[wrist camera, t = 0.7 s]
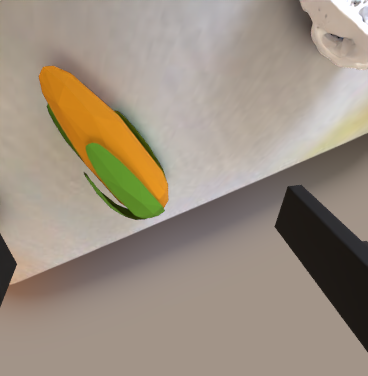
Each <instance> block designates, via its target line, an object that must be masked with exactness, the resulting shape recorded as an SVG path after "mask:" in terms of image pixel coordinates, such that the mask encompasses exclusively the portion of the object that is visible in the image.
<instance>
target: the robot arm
mask: <svg viewBox="0 0 368 376" xmlns="http://www.w3.org/2000/svg"><path fill="white" fill-rule="evenodd" d="M275 228H276V229H277V231H278V232H279V233H280V235H281V236H282V237H283V238H284V240H285V241H286V243H287V244H288V245H289V247H290V248H291V249H292V251H293V252H294V253H295V255H296V256H297V257H298V259H299V260H300V261H301V262H302V264H303V266H304V267H305V268H306V269H307V271H308V272H309V274H310V275H311V276H312V278H313V279H314V280H315V282H316V283H317V284H318V286H319V287H320V288H321V290H322V291H323V293H324V294H325V295H326V297H327V298H328V299H329V301H330V302H331V303H332V305H333V306H334V307H335V308H336V310H337V311H338V312H339V314H340V315H341V317H342V318H343V319H344V321H345V322H346V324H347V325H348V326H349V327H350V329H351V330H352V332H353V333H354V334H355V335H356V337H357V338H358V340H359V341H360V342H361V344H362V345H363V346H364V348H365V349H366V350H367V352H368V242H367V241H361V240H360V239H359V238H358V237H357V236H356V235H355V234H353V233H352V232H351V231H350V230H349V229H348V228H347V227H346V226H345V225H344V224H342V222H341V221H340V220H338V219H337V218H336V217H335V216H334V215H333V214H332V213H331V212H330V211H329V210H328V209H327V208H326V207H324V206H323V205H322V204H321V203H320V202H319V201H318V200H317V199H316V198H315V197H314V196H313V195H312V194H311V193H309V192H308V191H307V190H306V189H305V188H304V187H303V186H302V185H296V186H288V187H287V191H286V194H285V197H284V200H283V203H282V206H281V209H280V212H279V215H278V218H277V221H276V224H275ZM16 265H17V263H16V261H15V259H14V258H13V256H12V254H11V252H10V250H9V249H8V247H7V245H6V243H5V241H4V239H3V238H2V236H1V234H0V306H1V304H2V301H3V299H4V296H5V293H6V291H7V288H8V286H9V283H10V281H11V278H12V276H13V273H14V271H15V268H16Z"/></svg>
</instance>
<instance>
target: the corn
mask: <svg viewBox="0 0 368 376" xmlns="http://www.w3.org/2000/svg"><path fill="white" fill-rule="evenodd" d="M39 80H40V84H41V89H42V93H43V95H44V97H45V99H46V100H47V102H48V105H47V108H48V112H49V114H50V116H51V118H52V120H53V122H54V123H55V125H56V127H57V128H58V130H59V131H60V133H61V135H62V136H63V138H64V139H65V141H66V142H67V143H68V144H69V145H70V146H71V148H72V149H73V150H74V151H75V152H76V154H77V155H78V156H79V157H80V158H81V160H82V161H83V162H84V163H85V164H86V166H87V167H88V168H89V169H90V170H91V171H92V172H93V173H94V174H95V176H96V177H97V178H98V179H99V180H100V181H101V182H102V183H103V184H104V186H105V187H106V188H107V189H108V190H109V191H110V192H111V193H112V194H113V195H114V197H115V198H116V199H117V200H118V201H119V202H120V203H121V204H123V205H124V206H126V207H127V208H128V209H127V208H124V207H122V206H119V205H117V204H116V203H114V202H113V201H112V200H111V199H109V198H108V197H107V196H105V195H104V194H103V193H102V192H101V191H100V190H99V189H98V188H97V187H96V186H95V184H94V183H93V182H92V181H91V180H90V178H89V177H88V175H87V174H86V173H84V175H85V177H86V178H87V180H88V181H89V182H90V184H91V185H92V187H93V188H94V190H95V191H96V193H97V194H98V195H99V196H100V197H101V198H102V199H103V200H104V202H105V203H106V204H107V205H108V206H109V207H110V208H112V209H113V210H115V211H116V212H118V213H120V214H122V215H124V216H126V217H128V218H131V219H135V220H141V219H147V218H152V217H155V216H158V215H160V214H161V213H163V212H164V211H165V210H164V207H165V205H166V203H167V202H168V183H167V180H166V177H165V174H164V171H163V168H162V167H161V165H160V163H159V162H158V160H157V158H156V157H155V155H154V154H153V152H152V150H151V149H150V147H149V145H148V144H147V143H146V142H145V140H144V139H143V138H142V136H141V135H140V134H139V133H138V131H137V130H136V129H135V127H134V126H133V125H132V124H131V123H130V122H129V121H128V120H127V119H126V118H125V117H124V116H123V115H122V114H121V113H120V112H118V111H113V110H112V109H111V108H110V107H109V106H107V105H106V104H105V103H104V102H103V101H102V100H101V99H99V98H98V97H97V96H96V95H95V94H94V93H93V92H91V91H90V90H89V89H88V88H87V87H86V86H85V85H83V84H82V83H81V82H80V81H79V80H78V79H77V78H75V77H74V76H73V75H72V74H71V73H69V72H67V71H64V70H62V69H60V68H57V67H55V66H45V67H43V68H42V70H41V73H40V75H39Z"/></svg>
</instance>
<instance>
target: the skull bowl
mask: <svg viewBox="0 0 368 376" xmlns="http://www.w3.org/2000/svg"><path fill="white" fill-rule="evenodd" d="M354 2H357V3H356V4H353V3H354ZM359 2H360V3H359ZM300 3H301V6H302V8H303V10H304V11H305V12H308V14H309V15H310V17H311V20H312V22H313V25H312V28H311V38H312V40H313V42H314V43H315V45H316V47H317V49H318V51H319V52H320V53H321V54H322V55H323V56H325V57H326V58H328V59H330V61H332V62H333V63H334V64H335V65H337V66H339V67H344V68H356V69H357V70H361V69H362V70H365V69H368V0H300ZM328 33H330V34H334V35H337V36H339V37H344V38H343V41H342V40H341V39H339V38H337V37H335V36H332V35H330V34H328Z"/></svg>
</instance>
